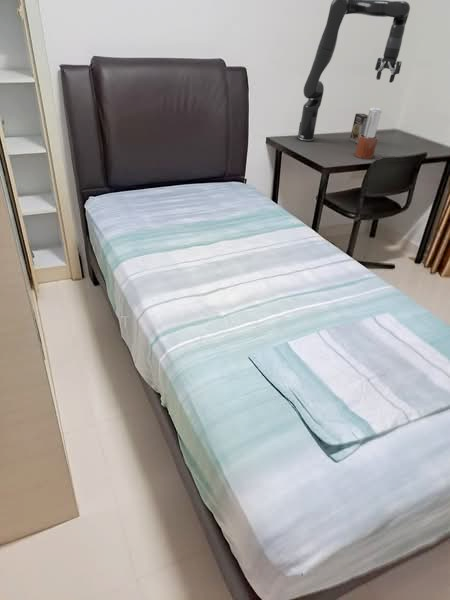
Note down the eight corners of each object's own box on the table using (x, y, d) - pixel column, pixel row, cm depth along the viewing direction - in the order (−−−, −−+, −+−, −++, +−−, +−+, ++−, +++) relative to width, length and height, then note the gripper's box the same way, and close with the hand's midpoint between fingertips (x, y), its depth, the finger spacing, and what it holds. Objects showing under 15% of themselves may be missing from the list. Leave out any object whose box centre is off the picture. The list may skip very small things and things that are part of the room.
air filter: (372, 156, 248) (384, 109, 234) (363, 156, 246) (374, 109, 232) (365, 152, 253) (377, 107, 239) (356, 153, 251) (367, 107, 237)
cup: (351, 154, 252) (356, 134, 245) (364, 152, 256) (369, 133, 249) (362, 159, 245) (367, 139, 238) (376, 158, 249) (381, 138, 242)
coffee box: (349, 140, 278) (355, 113, 269) (357, 139, 280) (363, 113, 271) (357, 144, 271) (363, 116, 262) (365, 143, 273) (372, 116, 264)
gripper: (377, 45, 231) (369, 78, 240) (400, 48, 222) (390, 83, 231) (386, 45, 235) (378, 78, 244) (408, 48, 225) (399, 83, 235)
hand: (384, 80), depth 237 cm, fingers open, 8 cm apart
